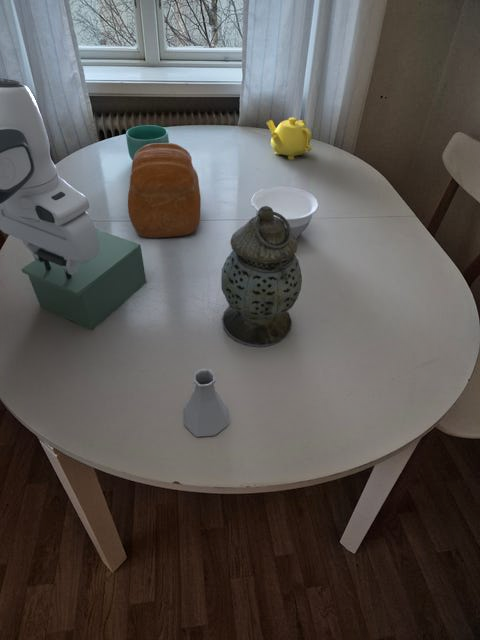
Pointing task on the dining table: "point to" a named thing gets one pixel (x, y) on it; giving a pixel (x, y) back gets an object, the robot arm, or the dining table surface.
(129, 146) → the mug
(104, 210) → the dining table surface
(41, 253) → the chest lid
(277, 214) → the lantern
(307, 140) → the teapot
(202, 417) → the flask
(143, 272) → the chest
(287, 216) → the bowl
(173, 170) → the bread
